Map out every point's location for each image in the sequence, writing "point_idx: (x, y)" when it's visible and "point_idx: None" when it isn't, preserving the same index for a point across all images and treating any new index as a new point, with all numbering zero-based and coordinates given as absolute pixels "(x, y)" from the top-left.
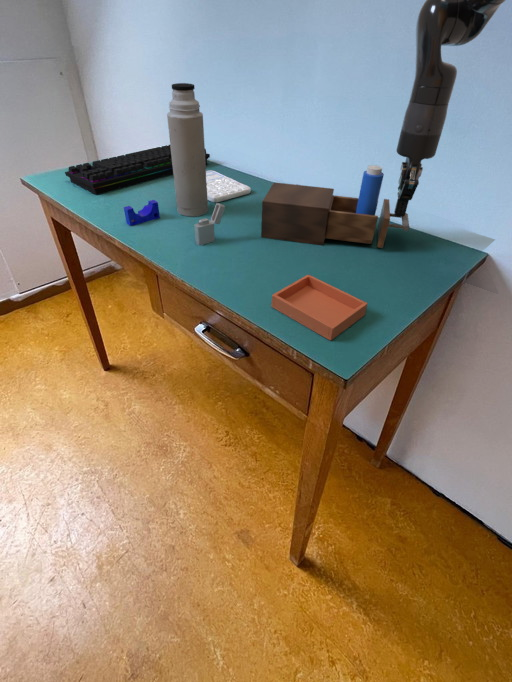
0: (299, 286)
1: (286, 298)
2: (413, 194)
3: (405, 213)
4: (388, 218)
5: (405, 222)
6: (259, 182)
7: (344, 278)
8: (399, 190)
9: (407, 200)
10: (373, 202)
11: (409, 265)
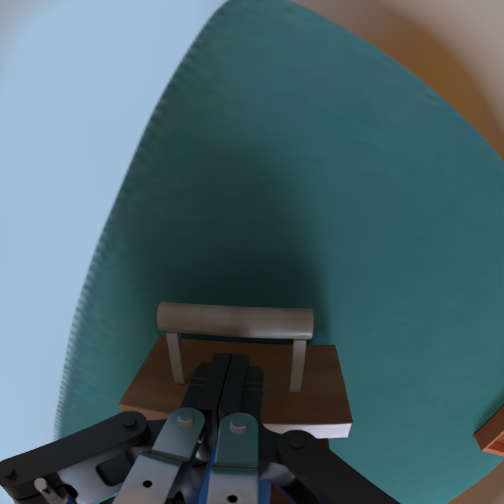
0: (492, 444)
1: (501, 442)
2: (356, 471)
3: (164, 324)
4: (350, 427)
5: (279, 335)
6: None
7: (463, 396)
8: (204, 477)
9: (265, 427)
10: (264, 489)
11: (411, 254)
